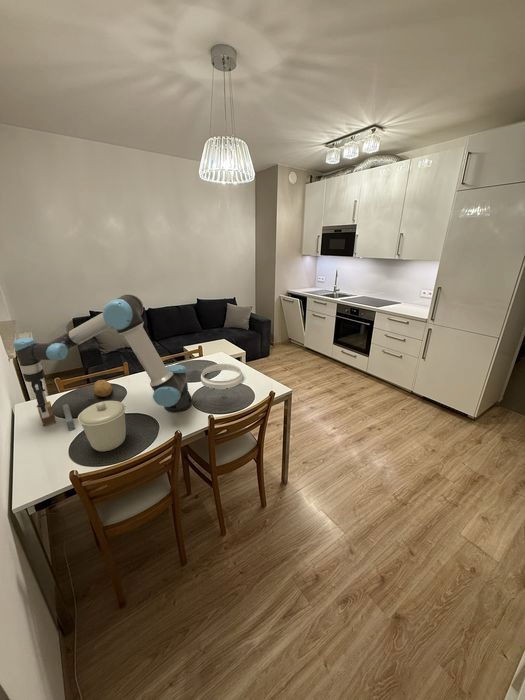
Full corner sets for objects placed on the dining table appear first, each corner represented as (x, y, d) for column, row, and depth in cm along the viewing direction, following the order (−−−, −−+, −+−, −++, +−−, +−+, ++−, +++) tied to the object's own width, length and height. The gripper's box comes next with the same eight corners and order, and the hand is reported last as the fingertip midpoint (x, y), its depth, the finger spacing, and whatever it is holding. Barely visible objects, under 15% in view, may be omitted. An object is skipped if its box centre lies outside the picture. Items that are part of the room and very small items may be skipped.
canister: (118, 425, 137) (109, 387, 130) (139, 440, 128) (132, 400, 120) (78, 446, 123) (66, 405, 116) (99, 464, 114) (88, 421, 106)
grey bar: (75, 429, 135) (72, 420, 133) (69, 430, 133) (66, 422, 131) (70, 411, 148) (68, 403, 146) (64, 413, 146) (62, 405, 144)
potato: (97, 403, 156) (94, 390, 153) (92, 392, 166) (89, 380, 163) (116, 397, 162) (114, 385, 159) (110, 387, 172) (108, 376, 169)
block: (56, 422, 139) (50, 405, 135) (43, 426, 136) (37, 409, 132) (55, 417, 143) (49, 401, 139) (43, 421, 140) (37, 404, 136)
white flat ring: (231, 367, 202) (231, 360, 200) (250, 382, 180) (250, 375, 178) (195, 376, 188) (194, 368, 186) (210, 393, 167) (210, 385, 165)
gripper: (44, 379, 122) (56, 419, 130) (41, 360, 140) (52, 397, 148) (22, 384, 118) (36, 425, 126) (22, 363, 136) (34, 401, 144)
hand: (45, 410), depth 137 cm, fingers open, 13 cm apart
